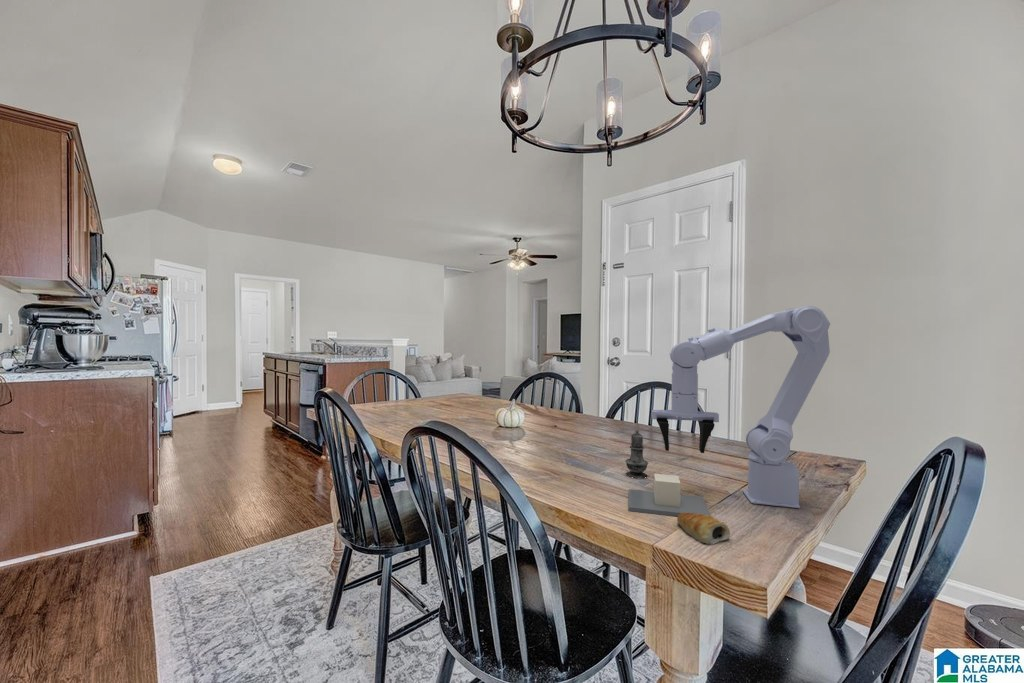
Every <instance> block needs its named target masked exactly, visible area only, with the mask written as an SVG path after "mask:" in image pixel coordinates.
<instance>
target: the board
mask: <svg viewBox="0 0 1024 683" xmlns="http://www.w3.org/2000/svg"><path fill="white" fill-rule="evenodd" d="M627 511H628V512H633V513H644V514H652V515H654V514H655V515H661V516H662V515H663V516H670V517H678V515H679V514H681V513H701V514H703V515H709V516H712V515H711V512H710V510H709V507H708V506H707V503H706V501H705V500H704V497H703V496H701V495H690V494H681V493H680V507H677V506H668V505H659V504H655V499H654V490H652V491H651V490H641V489H633V488H628V510H627Z"/></svg>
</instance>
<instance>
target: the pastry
mask: <svg viewBox="0 0 1024 683" xmlns="http://www.w3.org/2000/svg"><path fill="white" fill-rule="evenodd" d="M677 522H678V524H679V525H680V527H681V528H682V529H683V530H684V532H685V533H686V534H687V533H688V534H687V535H689V534H690V535H691V536H690V537H692V536H693V537H694V538H693V537H692V538H693V539H695V540H696V539H697V541H698V540H699V542H700V541H701V542H700V543H702V542H703V543H702V544H704V543H706V544H705V545H714V544H713V543H715V544H717V543H720V542H723V541H727V540H728V539H729V538H730V534H731V531H730V529H729V527H728V525H727V524H726V523H725V522H724V521H720V520H718V519H717V518H715V517H714V516H712V515H711V516H709V515H703V514H701V513H681V514H679V515H678V516H677ZM719 541H720V542H719ZM709 543H710V544H709Z"/></svg>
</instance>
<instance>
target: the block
mask: <svg viewBox="0 0 1024 683" xmlns="http://www.w3.org/2000/svg"><path fill="white" fill-rule="evenodd" d="M653 474H654V477H653V480H654V481H653V492H654V499H655V504H659V505H668V506H677V507H680V494H681V487H682V486H681V481H680V476H679V475H673V474H672V475H671V474H662V473H653Z"/></svg>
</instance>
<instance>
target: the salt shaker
mask: <svg viewBox="0 0 1024 683" xmlns="http://www.w3.org/2000/svg"><path fill="white" fill-rule="evenodd" d="M630 436H631V437H630V438H631V439H630V442H631V443H630V446H629V448H630V457H629V458H627V459H625V460H624V461H625V463H626V467H627V469H628V470H629V471H628V472H626V474H627V475H628V476H629V478H631V477H633V478H632V479H637V478H643V479H646V478H648V475H647V474H646V473H645V471H646V470H647V468H648V465H649V462H648V461H647V460H645V459H644V449H645V447H644V444H643V441H644V440H643V439H644V438H643V435H642V434H641V433H639V431H638V429H637V430H635V433H633V434H632V435H630ZM627 475H626V476H627ZM628 476H627V477H628ZM645 477H646V478H645Z"/></svg>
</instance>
